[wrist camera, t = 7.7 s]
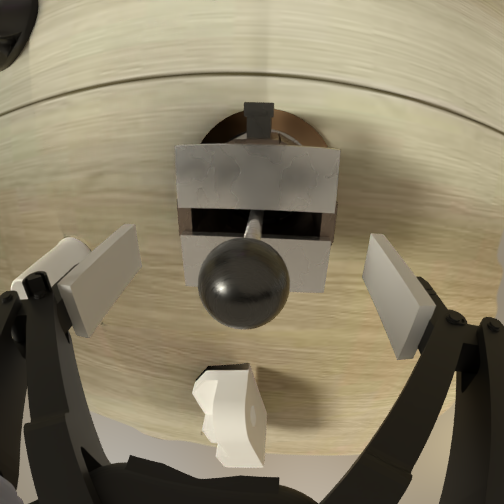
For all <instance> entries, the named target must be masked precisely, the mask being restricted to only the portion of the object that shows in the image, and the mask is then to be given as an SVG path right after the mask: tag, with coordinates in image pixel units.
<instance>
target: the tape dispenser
mask: <svg viewBox="0 0 504 504" xmlns="http://www.w3.org/2000/svg"><path fill="white" fill-rule="evenodd" d="M192 394H193V395H194V397H195V399H196V400H197V402H198V404H199V405H200V407H201V408H202V410H203V412H204V413H205V418H204V423H203V428H202V431H203V432H204V434H205V435H206V436H207V438H208V439H209V440H210V442H211V443H218V445H217V451H216V457H217V459H218V460H219V461H220V462H221V463H222V464H223V466H224V467H230V468H263V467H264V458H265V442H266V425H267V412H266V409H265V406H264V403H263V401H262V398H261V395H260V392H259V389H258V386H257V383H256V380H255V378H254V375H253V372H252V369H251V366H250V363H244V364H230V365H213V366H207V367H206V369H205V370H204V371H203V372H202V373H201V374H200V375H199V376H198V377H197V378H196V381H195V384H194V388H193V392H192Z"/></svg>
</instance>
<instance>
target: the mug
mask: <svg viewBox="0 0 504 504" xmlns="http://www.w3.org/2000/svg"><path fill="white" fill-rule="evenodd" d="M91 252H92V251H91V250H90V249H89V248H88V246H87V245H86V244H84V243H83V242H82V241H80V240H78V239H76V238H72V237H67V238H64V239H62V240H61V241H60V242H59V243H58V244H57V245H56V246H55V247H54V248H53V249H52V250H50V251H49V252H48V253H46V254H45V255H44V256H43V257H41V258H40V259H39V260H38V261H36V262H35V263H34V264H33V265H32V266H30V267H29V268H28V269H27V270H26V271H24V272H23V273H22V274H21V275H20V276H19V277H17V278H16V279H15V280H14V281H13V282H12V285H11V291H13V290H14V291H17V293H18V295H19V298H20V300H22V299H28V297H27V295H26V292H25V290H24V287H23V284H22V281H23V279H24V278H25V277H26V276H28V275H29V274H31V273H34V272H37V271H44V272H46V273H47V276H48V279H49V282H50V285H51V287H52V286H53V285H54V284H55V283H56V282H57V281H58V280H59V279H60V278H61V277H62V276H64V275H65V274H66V273H67V272H68V271H69V270H70V269H71V268H72V267H73V266H74V265H76V264H78V263H80V262H81V261H82V260H83V259H84V258H85V257H86V256H87V255H89V254H90V253H91Z"/></svg>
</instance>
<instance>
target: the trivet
mask: <svg viewBox="0 0 504 504" xmlns="http://www.w3.org/2000/svg"><path fill="white" fill-rule="evenodd" d="M272 129H273V130H277V131H281V132H283V133H286V134H288V135H289V136H291V137H293V138H294V139H296V140H297V141H298V142H299V143H300V144H301V145H302V146H312V147H324V148H328V146H327V145H326V143H325V141H324V140H323V138H322V137H321V136H320V135H319V133H318V132H317V131H316V130H315V129H314V128H313V127H312V126H310V125H309V124H308V123H306V122H305V121H304V120H302V119H300V118H298V117H297V116H295V115H292V114H290V113H287V112H284V111H280V110H276V109H274V118H272ZM245 131H247V117H245V116H244V111H242V112H238V113H235V114H233V115H231V116H229V117H227V118H225V119H224V120H222V121H221V122H219V123H218V124H217V125H216V126H214V127H213V128H212V129H211V130H210V131H209V132H208V134H207V135H206V136H205V137H204V139H203V140H202V142H201V143H200V144H225V143H226V142H227V141H228V140H229V139H231V138H232V137H234V136H236V135H238V134H240V133H242V132H245Z"/></svg>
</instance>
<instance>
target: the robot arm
mask: <svg viewBox="0 0 504 504" xmlns="http://www.w3.org/2000/svg"><path fill="white" fill-rule="evenodd" d="M37 13H38V0H0V71H2V70H4V69H6V68H7V67H8V66H10V65H11V64H12V63H13V61H14V60H15V59H16V58H17V57H18V55H19V54H20V52H21V51H22V49H23V48H24V46H25V44H26V43H27V41H28V39H29V37H30V34H31V32H32V30H33V27H34V24H35V21H36V18H37ZM141 267H142V263H141V258H140V252H139V246H138V239H137V233H136V226H135V224H123V225H122V226H121V227H120V228H119V229H117V230H116V231H115V232H114V233H113V234H111V235H110V236H109V237H108V238H107V239H106V240H104V241H103V242H102V243H101V244H100V245H99V246H98V247H96V248H95V249H94V250H93V251H92V252H91V253H90V254H89V255H87V256H86V257H85V258H84V259H83V260H82V261H81V262H80V263H78V264H76V265H74V266H73V267H72V268H71V269H70V270H69V271H68V272H67V273H66V274H65V275H64V276H62V277H61V278H60V279H59V280H58V281H57V282H56V283H55V284H54V285H53V286H52V287H51V285H50V282H49V279H48V276H47V273H46V272H44V271H37V272H34V273H31V274H29V275H28V276H26V277H25V278H24V279H23V281H22V284H23V287H24V290H25V292H26V295H27V297H28V299H22V300H20V298H19V295H18V293H17V291H14V290H13V291H6V292H4V293H3V294H2V295H1V296H0V504H23V501H22V499H21V498H20V497H18V496H17V492H16V489H17V484H18V477H19V462H20V441H21V429H22V419H23V411H24V403H25V396H26V390H27V388H28V399H29V409H30V417H31V422H30V423H26V424H25V425H24V437H25V444H26V449H27V455H28V460H29V464H30V469H31V473H32V477H33V481H34V485H35V489H36V492H37V496H38V500H36V501H34V502H31V503H29V504H318V503H317V502H316V501H314V500H313V499H312V498H310V497H309V496H307V495H305V494H303V493H301V492H299V491H297V490H295V489H292V488H289V487H286V486H282V485H279V477H253V476H233V477H223V478H212V479H198V478H195V477H192V476H190V475H187V474H185V473H183V472H180V471H178V470H176V469H174V468H172V467H169V466H167V465H165V464H163V463H158V462H154V461H150V460H146V459H142V458H138V457H135V456H132V455H130V457H129V460H128V462H127V463H115V464H111V463H110V462H109V460H108V459H107V457H106V455H105V453H104V451H103V448H102V446H101V444H100V441H99V438H98V435H97V432H96V430H95V427H94V424H93V421H92V418H91V415H90V412H89V408H88V405H87V402H86V399H85V395H84V391H83V388H82V384H81V380H80V376H79V372H78V368H77V364H76V359H75V355H74V350H73V345H72V340H71V336H70V333H69V331H68V330H69V329H70V328H71V326H73V328H74V331H75V333H76V335H77V336H81V337H86V338H90V336H91V335H92V334H93V332H94V331H95V329H96V328H97V326H98V325H99V324H100V322H101V321H102V319H103V318H104V317H105V315H106V314H107V312H108V311H109V310H110V308H111V307H112V305H113V304H114V303H115V301H116V300H117V299H118V297H119V296H120V295H121V293H122V292H123V291H124V289H125V288H126V287H127V285H128V284H129V283H130V281H131V280H132V279H133V277H134V276H135V275H136V274H137V272H138V271H139V270H140V268H141ZM362 278H363V280H364V282H365V284H366V287H367V289H368V291H369V293H370V295H371V298H372V300H373V302H374V304H375V307H376V309H377V311H378V314H379V316H380V318H381V321H382V323H383V325H384V328H385V330H386V333H387V335H388V338H389V340H390V343H391V345H392V348H393V350H394V353H395V355H396V358H397V360H402V359H413V357H414V355H415V353H416V351H417V349H419V351H420V353H421V356H420V358H419V360H418V362H417V364H416V366H415V367H414V369H413V371H412V374H411V375H410V377H409V379H408V381H407V383H406V385H405V386H404V388H403V390H402V392H401V394H400V395H399V397H398V399H397V400H396V402H395V404H394V405H393V407H392V409H391V410H390V412H389V414H388V415H387V417H386V418H385V420H384V421H383V423H382V425H381V426H380V428H379V429H378V431H377V432H376V434H375V435H374V436H373V438H372V439H371V441H370V442H369V444H368V445H367V446H366V448H365V449H364V450H363V452H362V453H361V455H360V456H359V457H358V459H357V460H356V461H355V462H354V464H353V465H352V466H351V468H350V469H349V470H348V471H347V473H346V474H345V475H344V476H343V478H342V479H341V480H340V481H339V482H338V483H337V484H336V486H335V487H334V488H333V489H332V490H331V491H330V492H329V494H327V496H326V497H325V498H324V499H323V500H322V501H321V502H320V503H319V504H398V502H399V500H400V499H401V497H402V496H403V494H404V493H405V491H406V489H407V487H408V486H409V484H410V482H411V480H412V475H411V471H412V469H413V467H414V465H415V463H416V461H417V460H418V458H419V456H420V454H421V452H422V450H423V448H424V446H425V444H426V442H427V440H428V438H429V436H430V433H431V431H432V429H433V427H434V424H435V422H436V420H437V418H438V415H439V413H440V410H441V408H442V405H443V403H444V400H445V398H446V395H447V392H448V390H449V387H450V384H451V381H452V378H453V375H454V372H455V371H457V373H456V402H455V403H456V404H455V415H454V416H455V417H454V427H453V435H452V442H451V449H450V456H449V461H448V467H447V472H446V477H445V482H444V486H443V490H442V494H441V498H440V502H439V504H504V326H503V325H502V324H501V322H500V321H499V320H497V319H494V318H492V317H485V318H483V319H482V321H481V323H480V325H479V326H475V325H470V324H467V321H466V319H465V317H464V316H463V315H461V314H460V313H458V312H456V311H453V310H448V309H447V308H446V306H445V305H444V304H443V302H442V301H441V299H440V298H439V297H438V295H436V292H435V291H434V290H433V288H432V287H431V286H430V284H429V283H428V282H427V281H426V280H424V279H423V278H422V277H416V276H415V275H414V273H413V272H412V271H411V269H410V268H409V266H408V265H407V264H406V262H405V261H404V260H403V258H402V257H401V256H400V255H399V253H398V252H397V251H396V249H395V248H394V247H393V246H392V244H391V243H390V242H389V241H388V239H387V238H386V237H385V236H384V234H375V233H371V235H370V240H369V246H368V251H367V256H366V261H365V266H364V271H363V275H362ZM12 337H13V339H12Z"/></svg>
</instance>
